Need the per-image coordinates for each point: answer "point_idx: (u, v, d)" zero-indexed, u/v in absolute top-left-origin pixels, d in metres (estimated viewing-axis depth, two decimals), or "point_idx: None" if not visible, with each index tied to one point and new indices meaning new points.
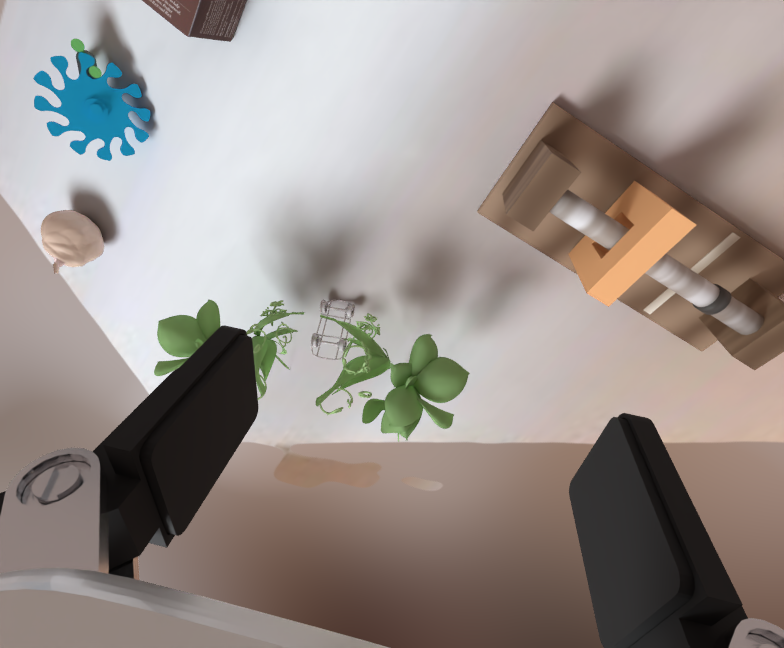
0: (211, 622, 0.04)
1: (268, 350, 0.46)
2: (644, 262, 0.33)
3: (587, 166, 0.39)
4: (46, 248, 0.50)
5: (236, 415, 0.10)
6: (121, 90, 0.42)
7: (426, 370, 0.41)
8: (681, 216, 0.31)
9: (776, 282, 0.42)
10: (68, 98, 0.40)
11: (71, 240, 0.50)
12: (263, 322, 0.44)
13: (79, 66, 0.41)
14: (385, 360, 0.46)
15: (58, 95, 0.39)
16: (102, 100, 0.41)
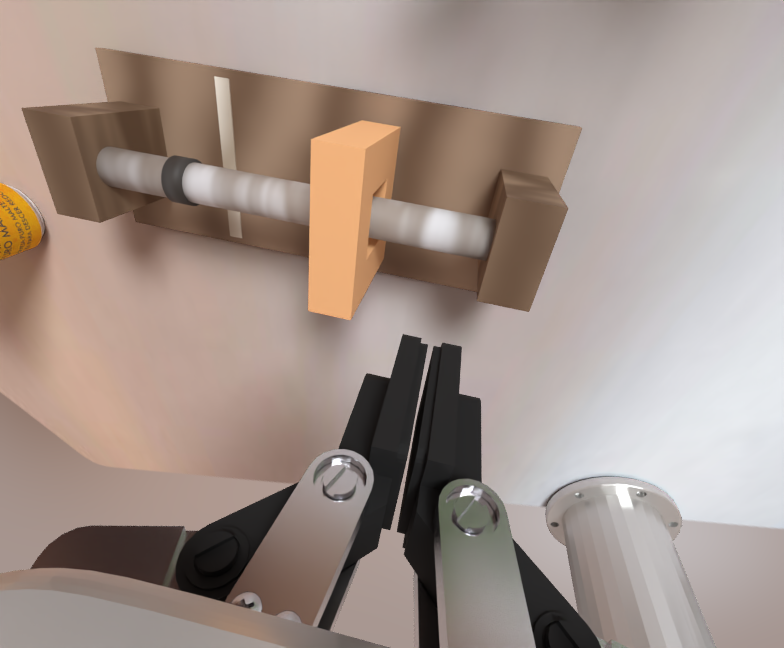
0: (211, 622, 0.04)
1: None
2: (323, 242, 0.20)
3: None
4: None
5: None
6: None
7: None
8: (332, 314, 0.22)
9: None
10: None
11: None
12: None
13: None
14: None
15: None
16: None
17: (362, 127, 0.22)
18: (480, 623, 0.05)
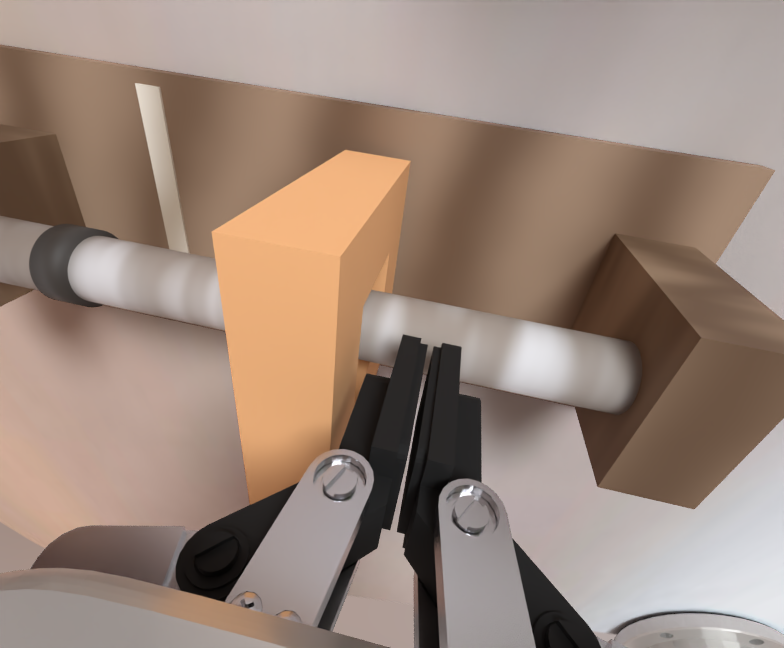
0: (211, 623, 0.04)
1: None
2: (264, 414, 0.10)
3: None
4: None
5: None
6: None
7: None
8: None
9: None
10: None
11: None
12: None
13: None
14: None
15: None
16: None
17: (343, 170, 0.12)
18: (480, 623, 0.05)
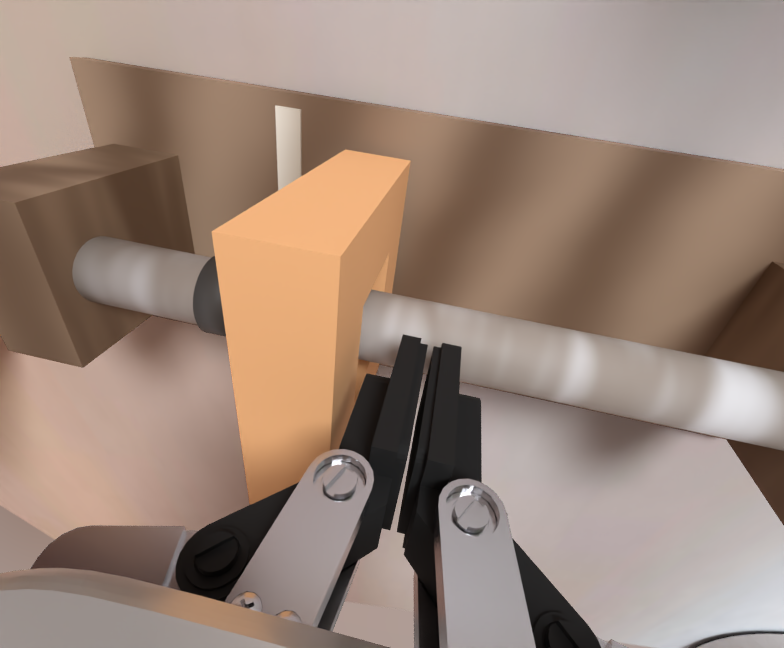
0: (211, 623, 0.04)
1: None
2: (264, 414, 0.10)
3: None
4: None
5: None
6: None
7: None
8: None
9: None
10: None
11: None
12: None
13: None
14: None
15: None
16: None
17: (343, 170, 0.12)
18: (480, 623, 0.05)
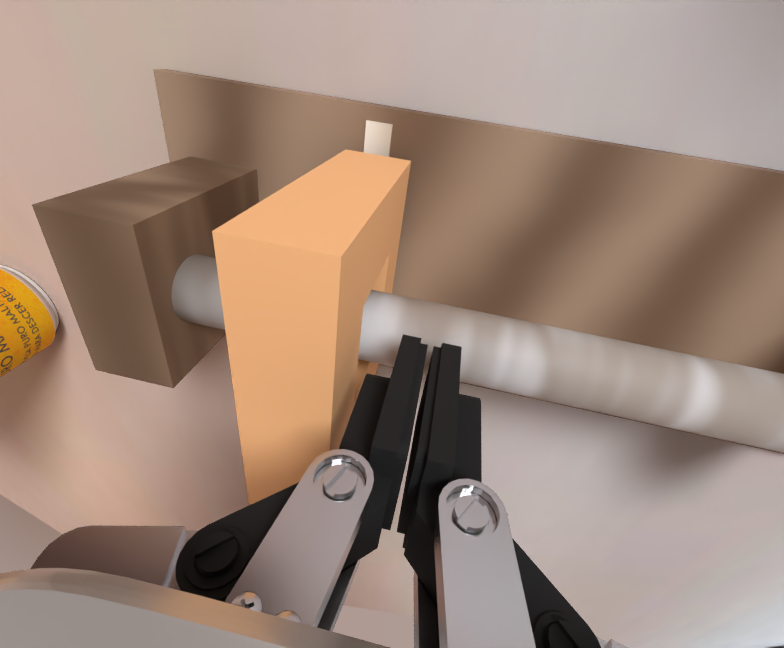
0: (211, 622, 0.04)
1: None
2: (263, 414, 0.10)
3: None
4: None
5: None
6: None
7: None
8: None
9: None
10: None
11: None
12: None
13: None
14: None
15: None
16: None
17: (344, 170, 0.12)
18: (480, 623, 0.05)
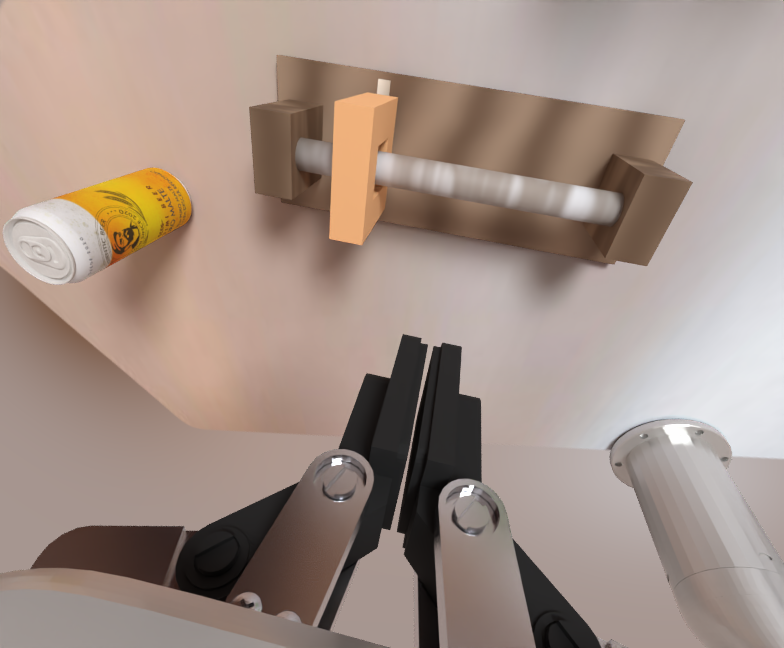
0: (211, 622, 0.04)
1: None
2: (342, 181, 0.27)
3: (554, 223, 0.35)
4: None
5: None
6: None
7: None
8: (348, 241, 0.29)
9: None
10: None
11: None
12: None
13: None
14: None
15: None
16: None
17: (369, 96, 0.29)
18: (480, 623, 0.05)
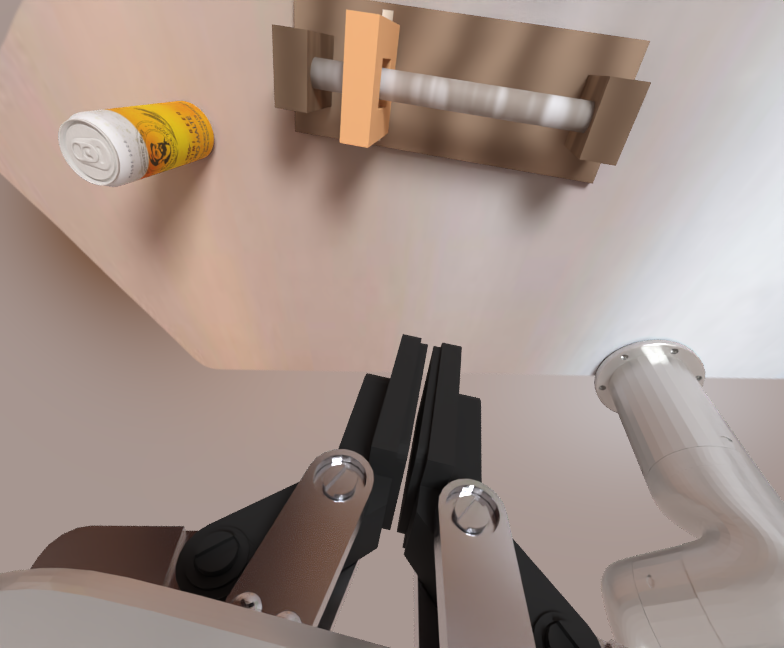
0: (211, 622, 0.04)
1: None
2: (351, 86, 0.31)
3: (538, 144, 0.40)
4: None
5: None
6: None
7: None
8: (356, 144, 0.34)
9: (308, 113, 0.42)
10: None
11: None
12: None
13: None
14: None
15: None
16: None
17: None
18: (480, 623, 0.05)
